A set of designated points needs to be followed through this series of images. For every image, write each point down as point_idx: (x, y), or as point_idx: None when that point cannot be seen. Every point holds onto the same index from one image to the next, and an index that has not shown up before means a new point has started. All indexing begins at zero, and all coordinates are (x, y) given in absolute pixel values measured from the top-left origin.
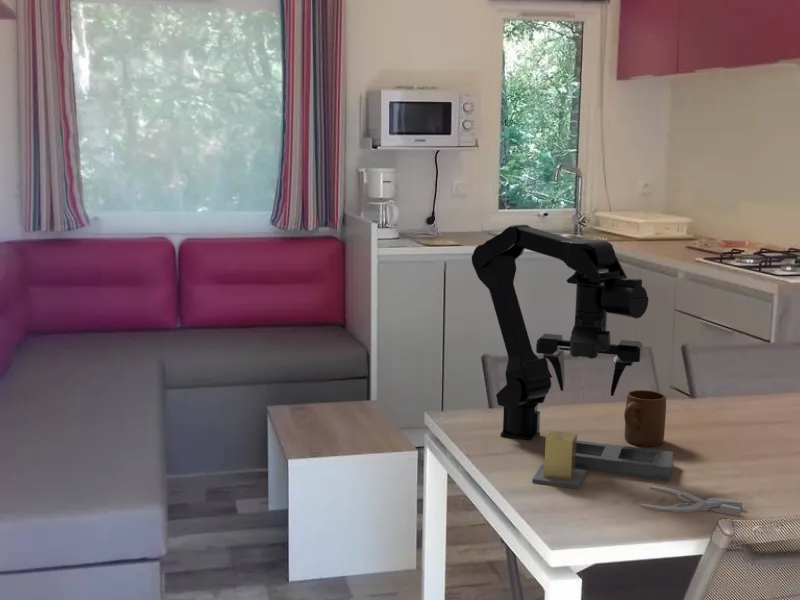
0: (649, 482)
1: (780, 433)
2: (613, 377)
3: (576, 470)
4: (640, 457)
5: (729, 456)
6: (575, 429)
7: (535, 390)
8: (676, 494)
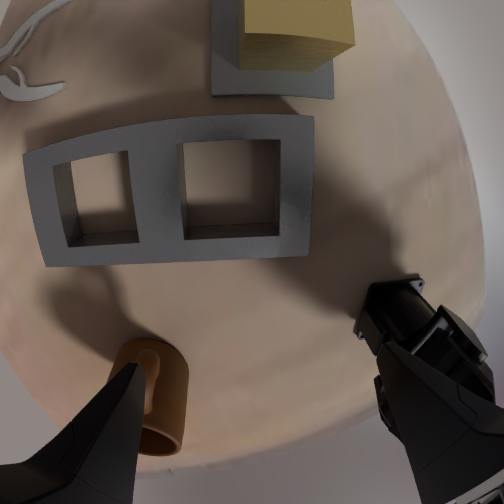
0: (68, 119)
1: (47, 407)
2: (91, 437)
3: (237, 82)
4: (103, 238)
5: (29, 328)
6: (288, 372)
7: (428, 361)
8: (25, 83)
